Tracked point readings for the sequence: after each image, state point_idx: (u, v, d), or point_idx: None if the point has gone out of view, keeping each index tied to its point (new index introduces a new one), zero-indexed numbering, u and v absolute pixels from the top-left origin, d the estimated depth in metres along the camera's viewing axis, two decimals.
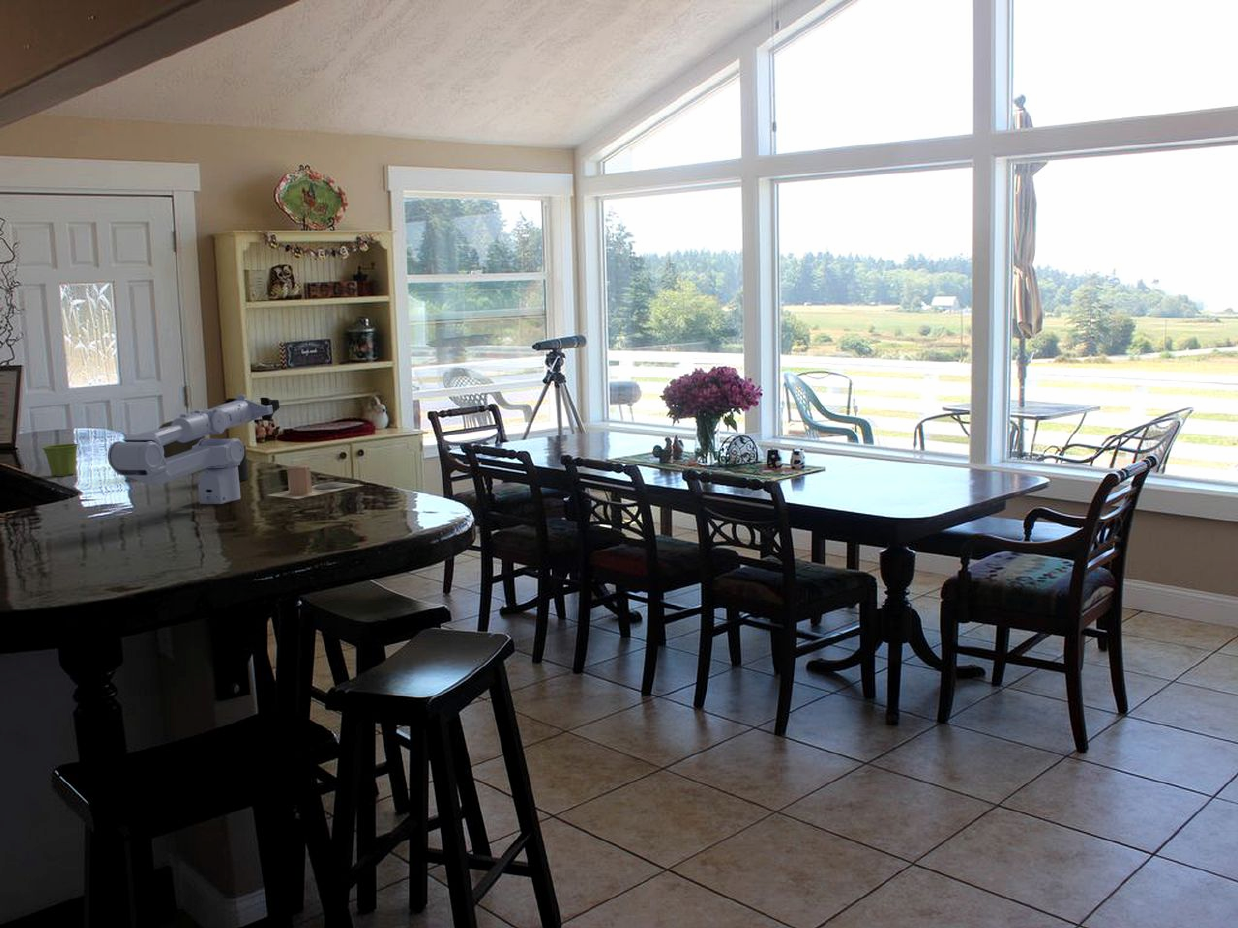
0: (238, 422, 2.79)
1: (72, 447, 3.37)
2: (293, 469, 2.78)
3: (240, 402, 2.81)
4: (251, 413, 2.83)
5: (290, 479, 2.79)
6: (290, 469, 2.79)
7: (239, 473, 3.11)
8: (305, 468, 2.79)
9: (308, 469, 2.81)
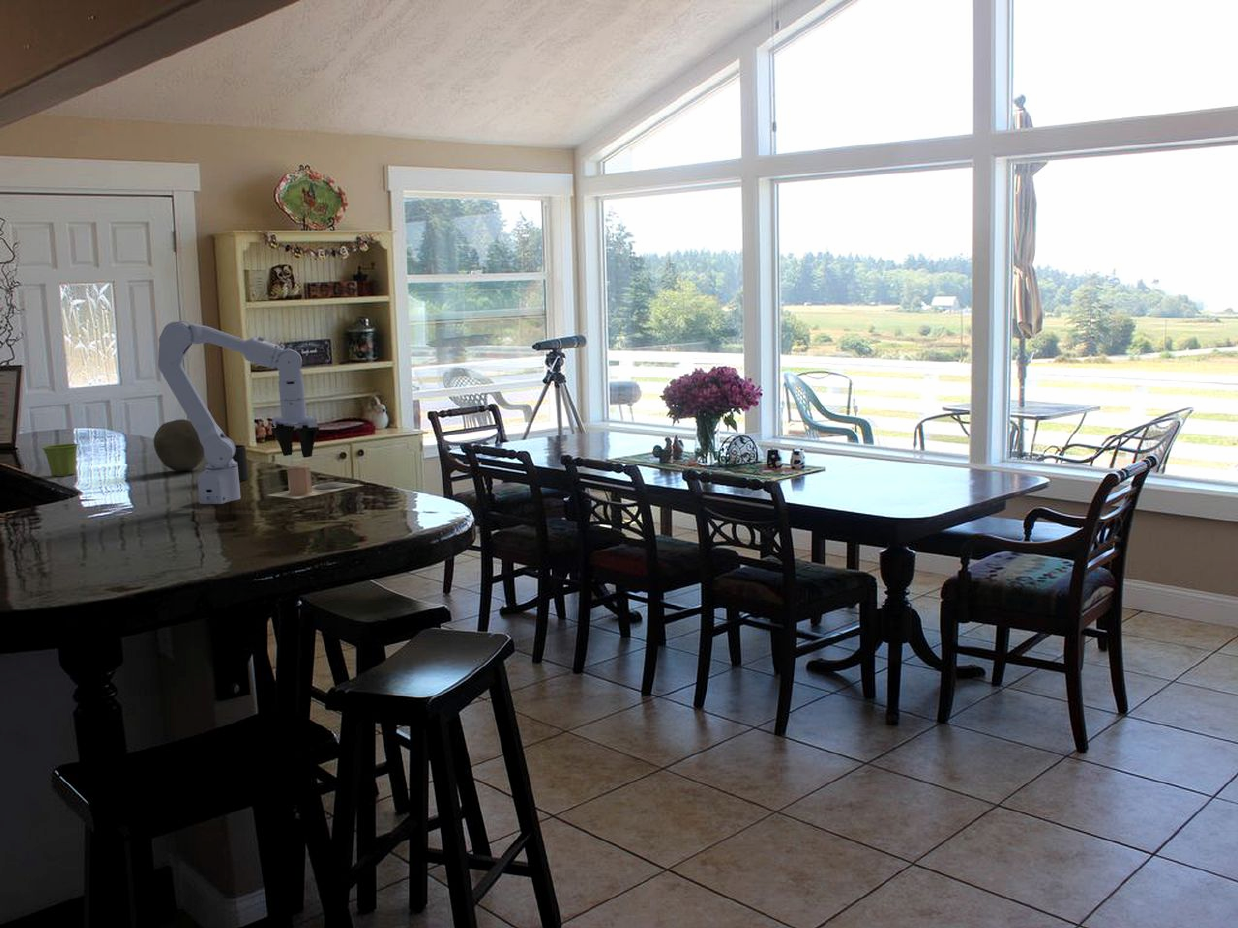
0: (284, 398, 2.76)
1: (72, 447, 3.37)
2: (293, 469, 2.78)
3: None
4: (299, 416, 2.77)
5: (290, 479, 2.79)
6: (290, 469, 2.79)
7: (239, 473, 3.11)
8: (305, 468, 2.79)
9: (308, 469, 2.81)
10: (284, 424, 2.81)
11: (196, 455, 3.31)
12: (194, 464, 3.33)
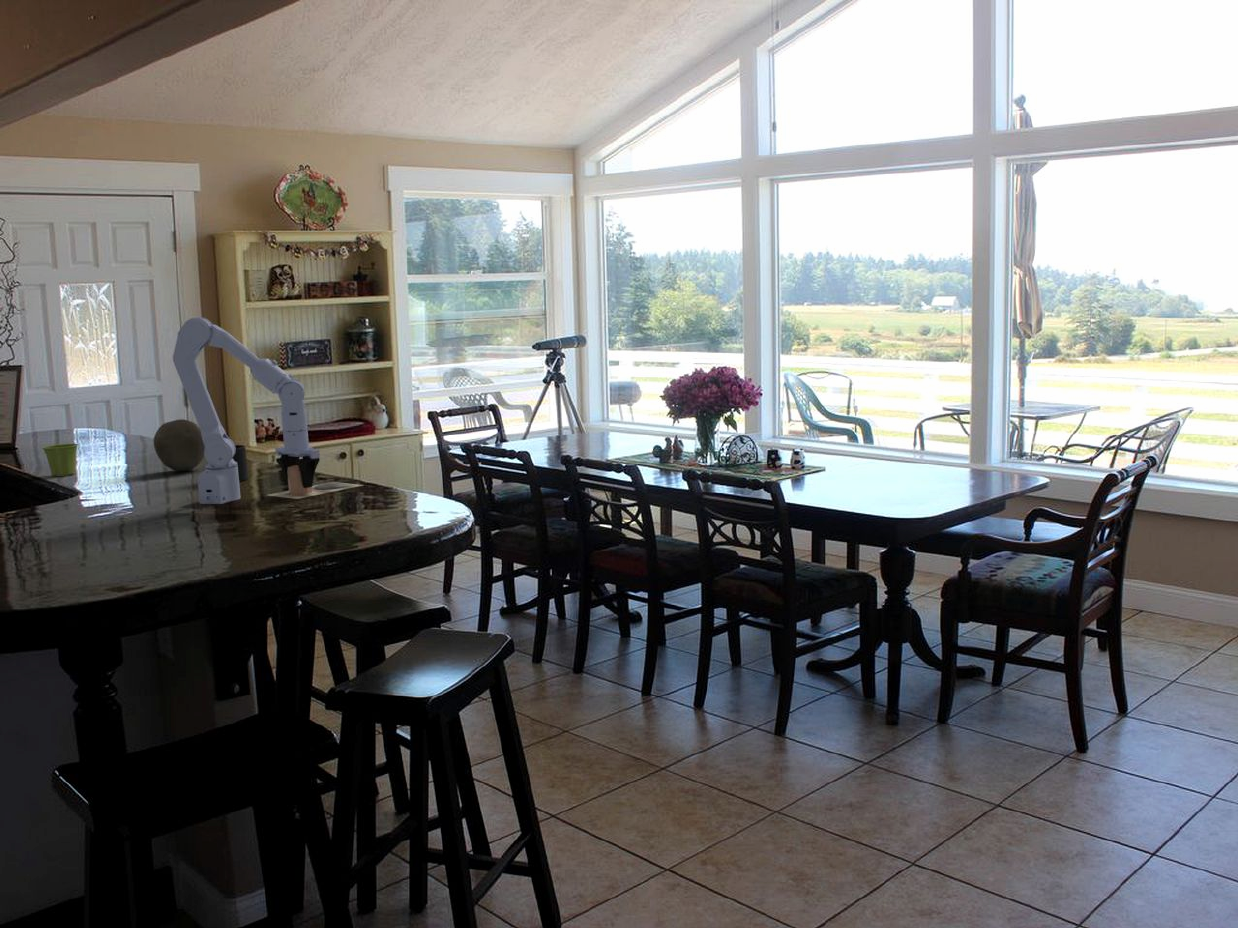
0: (286, 429, 2.77)
1: (72, 447, 3.37)
2: (293, 469, 2.78)
3: None
4: (302, 447, 2.78)
5: (290, 479, 2.79)
6: (290, 469, 2.79)
7: (239, 473, 3.11)
8: None
9: None
10: (287, 454, 2.82)
11: (196, 455, 3.31)
12: (194, 464, 3.33)
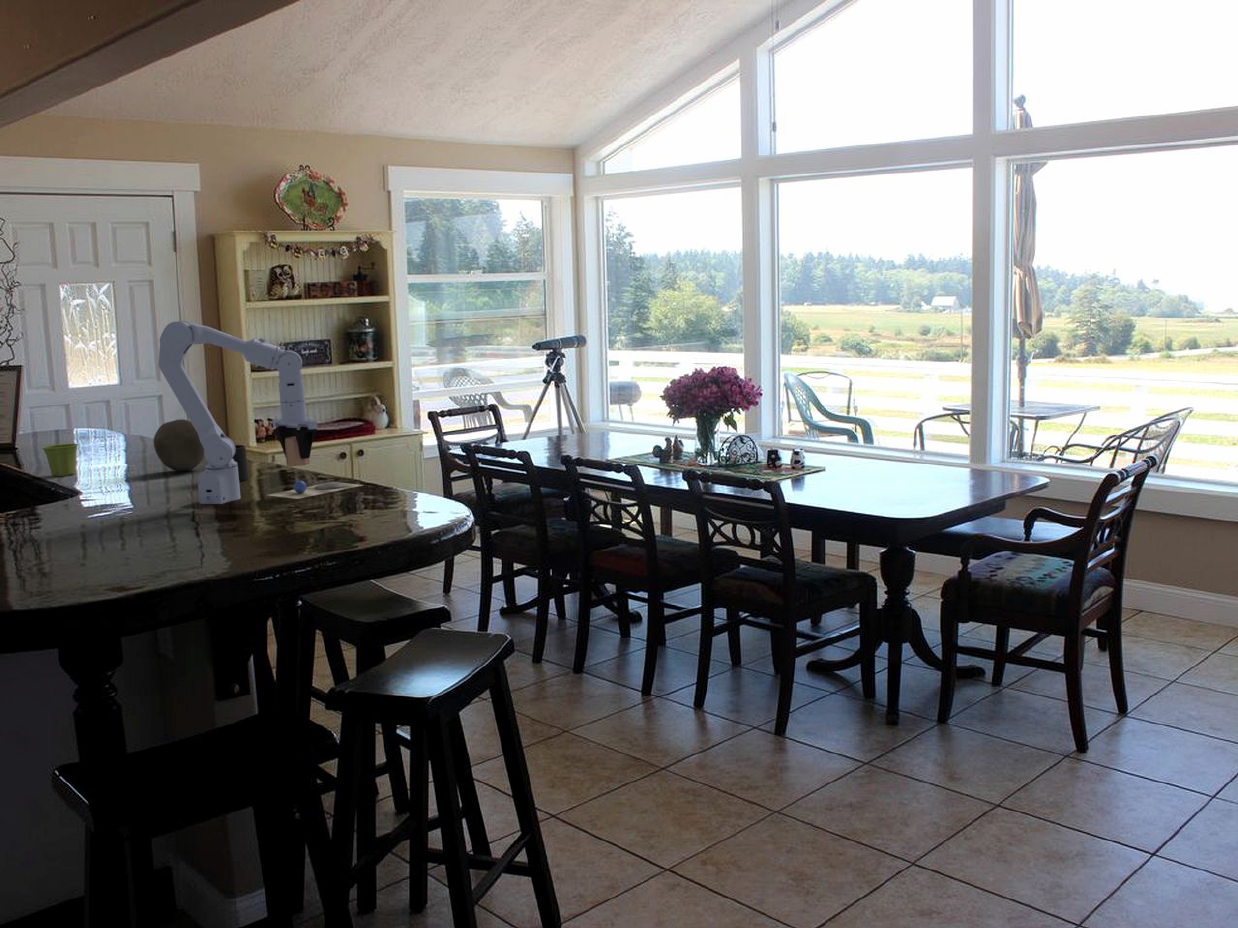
0: (284, 400, 2.76)
1: (72, 447, 3.37)
2: (290, 440, 2.77)
3: None
4: (299, 418, 2.77)
5: (287, 450, 2.78)
6: (287, 440, 2.78)
7: (239, 473, 3.11)
8: None
9: None
10: None
11: (196, 455, 3.31)
12: (194, 464, 3.33)
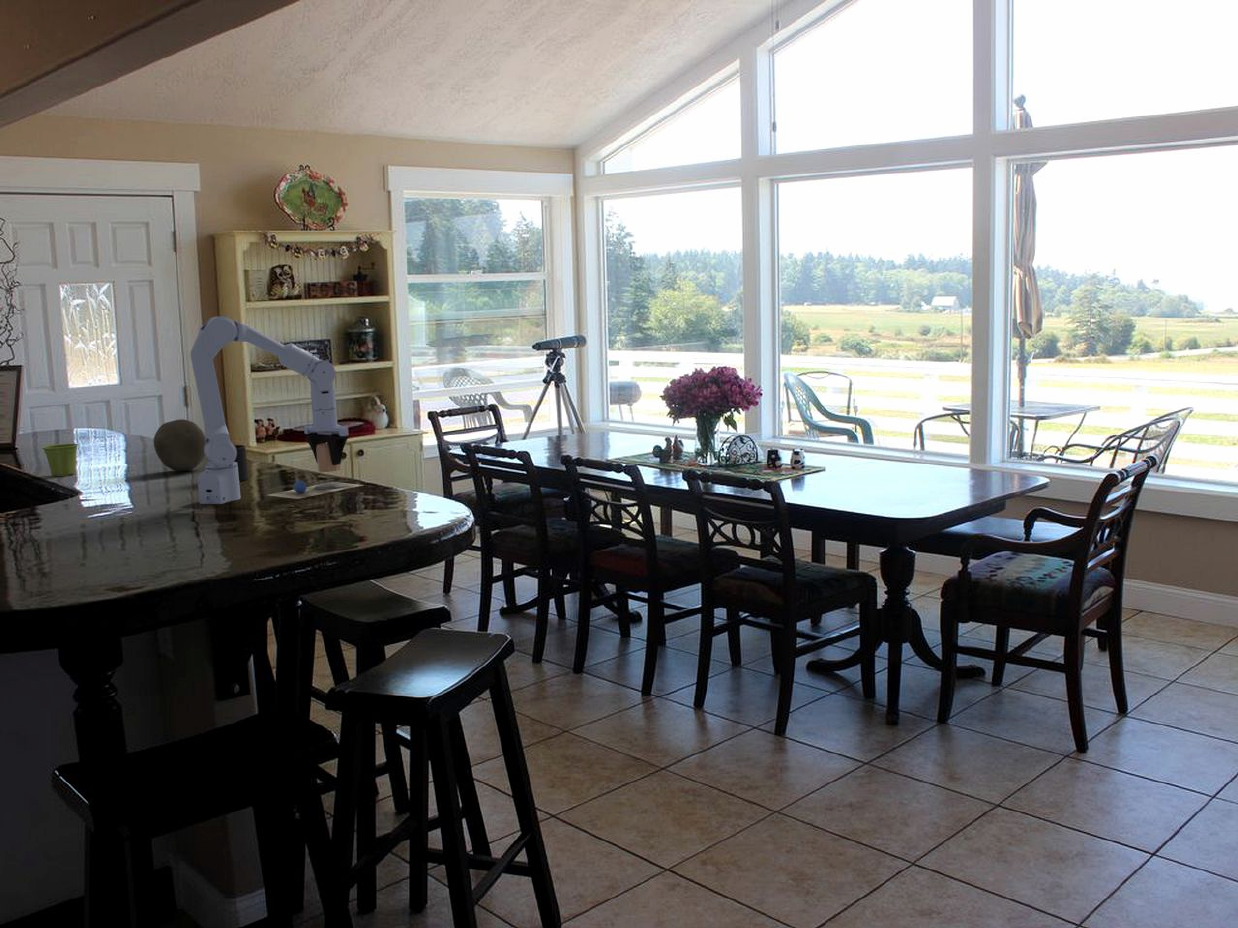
0: (318, 407, 2.83)
1: (72, 447, 3.37)
2: (322, 447, 2.85)
3: None
4: (331, 425, 2.84)
5: (319, 456, 2.86)
6: (319, 447, 2.85)
7: (239, 473, 3.11)
8: None
9: None
10: (315, 432, 2.89)
11: (196, 455, 3.31)
12: (194, 464, 3.33)
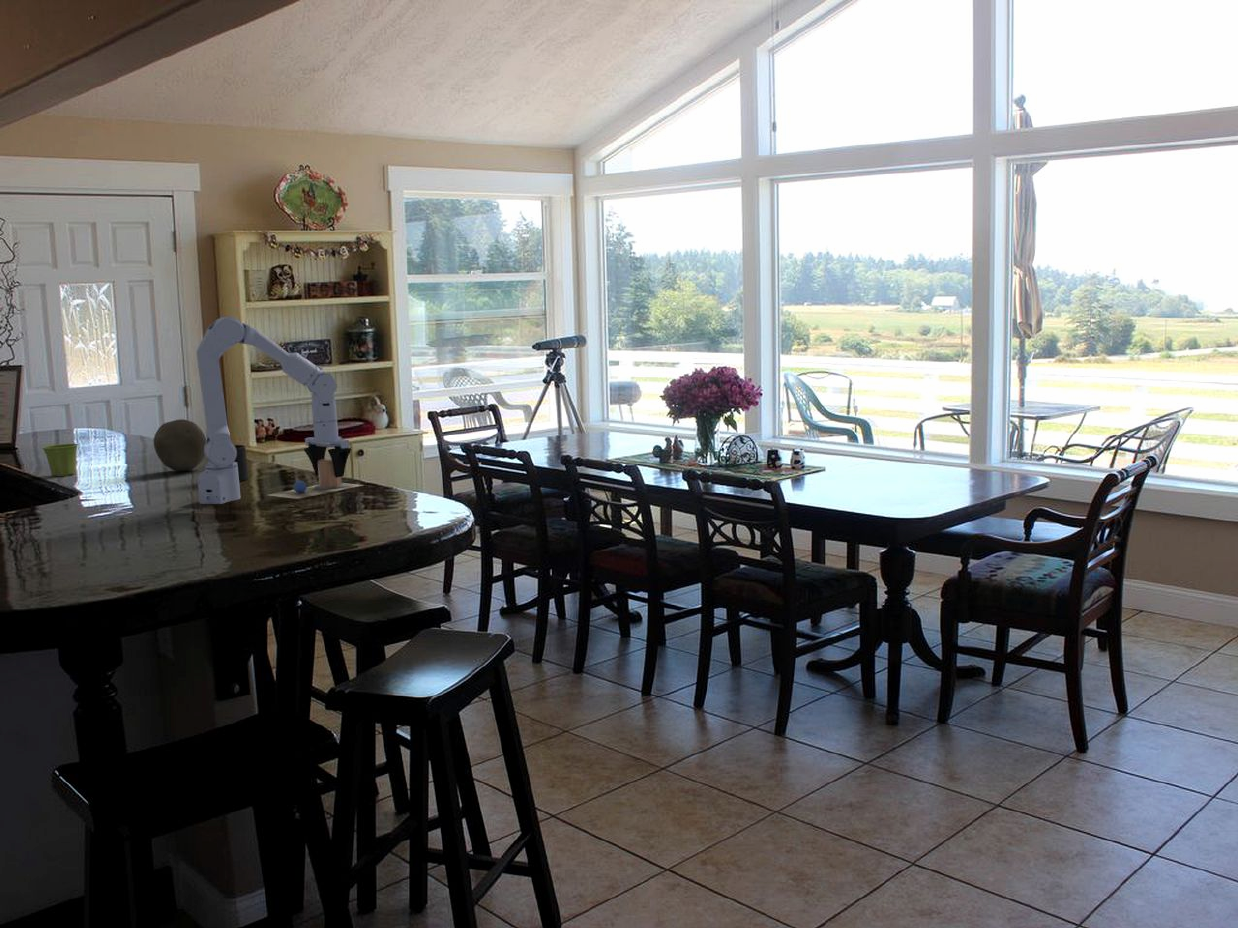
0: (319, 419, 2.84)
1: (72, 447, 3.37)
2: (323, 462, 2.85)
3: None
4: (332, 437, 2.85)
5: (320, 472, 2.86)
6: (320, 462, 2.86)
7: (239, 473, 3.11)
8: None
9: None
10: (316, 444, 2.89)
11: (196, 455, 3.31)
12: (194, 464, 3.33)
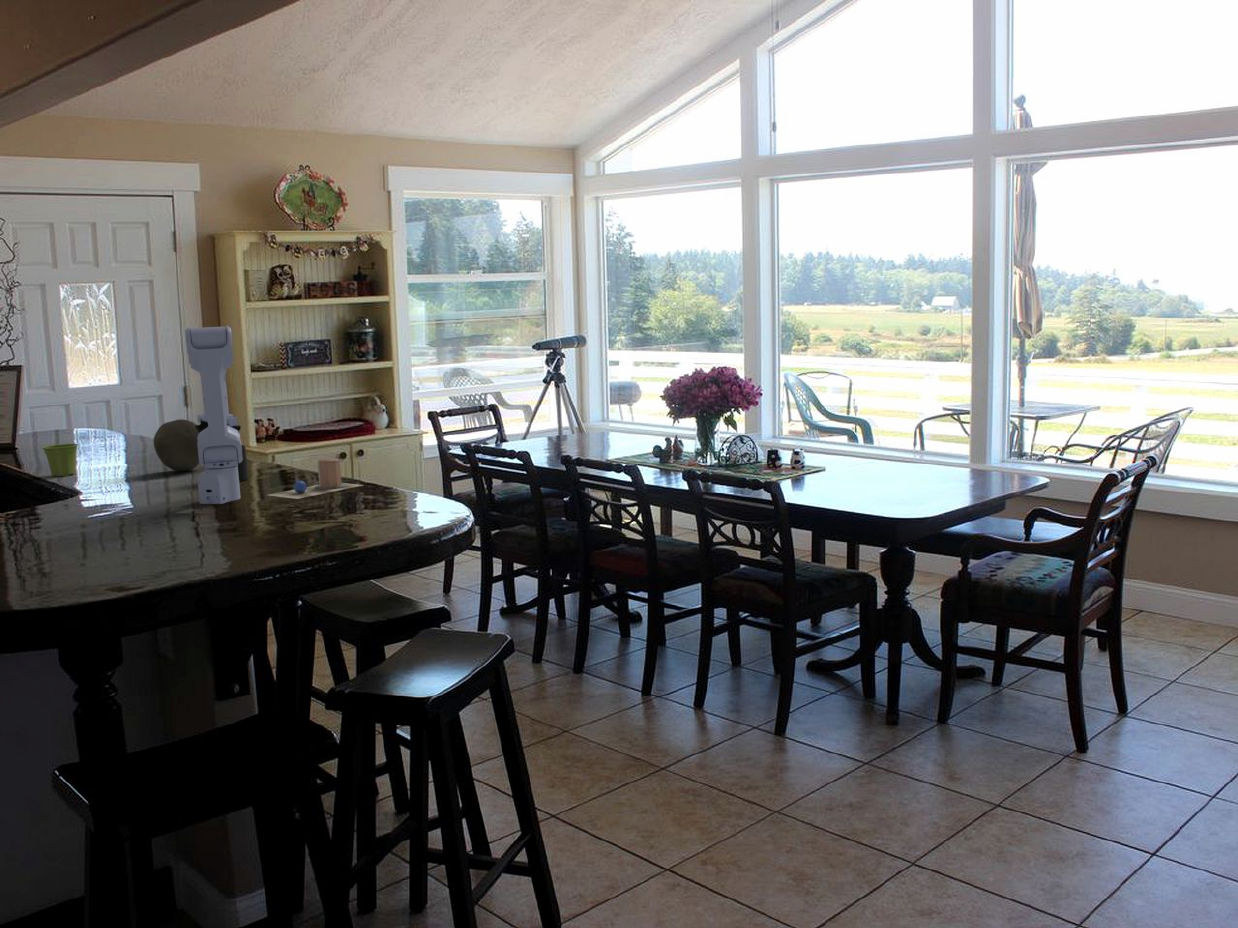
0: (224, 396, 2.86)
1: (72, 447, 3.37)
2: (323, 462, 2.85)
3: None
4: None
5: (320, 472, 2.86)
6: (320, 462, 2.86)
7: (239, 473, 3.11)
8: (335, 461, 2.86)
9: (338, 462, 2.87)
10: (208, 422, 2.91)
11: (196, 455, 3.31)
12: (194, 464, 3.33)
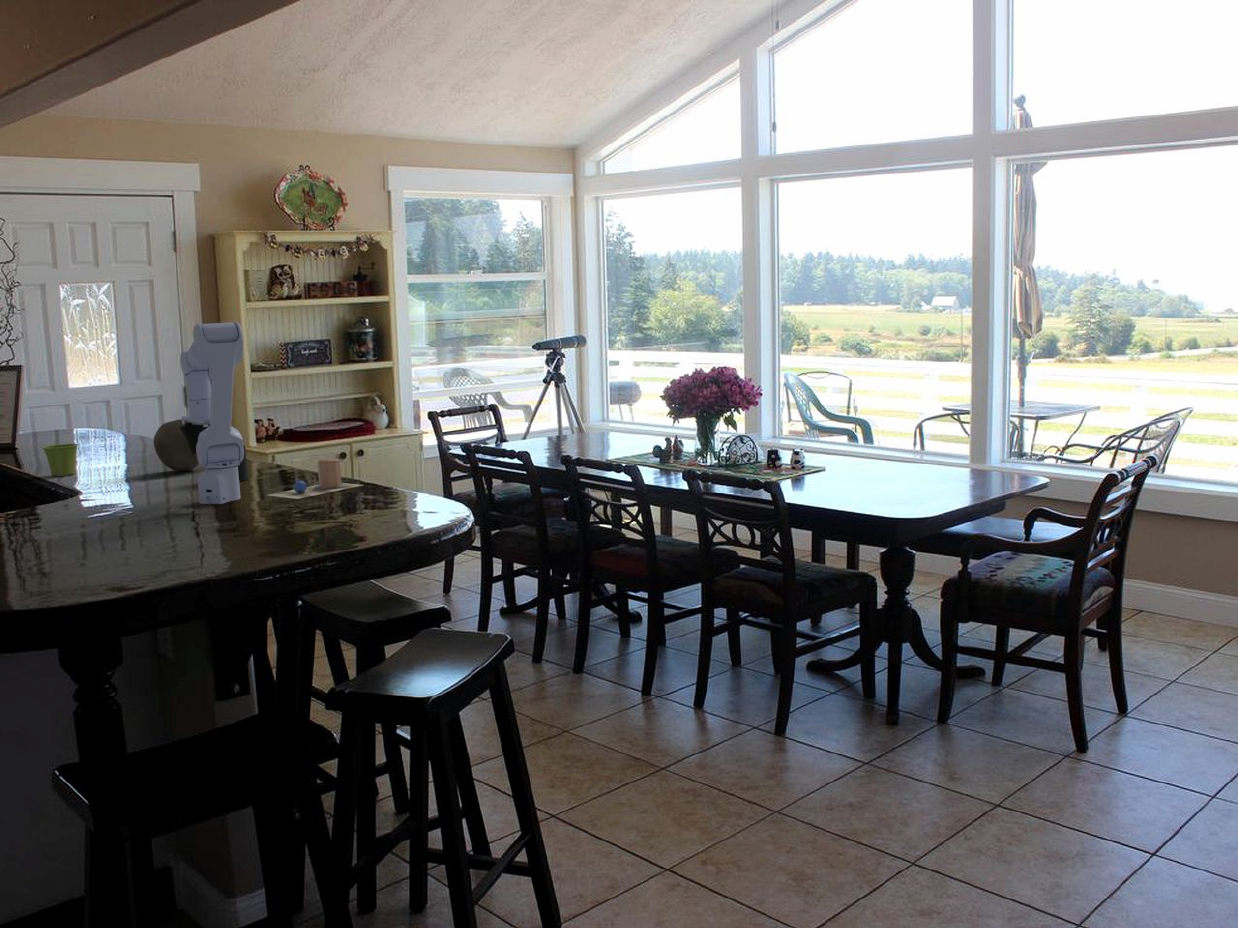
0: (210, 396, 2.87)
1: (72, 447, 3.37)
2: (323, 462, 2.85)
3: None
4: (205, 415, 2.86)
5: (320, 472, 2.86)
6: (320, 462, 2.86)
7: (239, 473, 3.11)
8: (335, 461, 2.86)
9: (338, 462, 2.87)
10: (192, 423, 2.90)
11: (196, 455, 3.31)
12: (194, 464, 3.33)
